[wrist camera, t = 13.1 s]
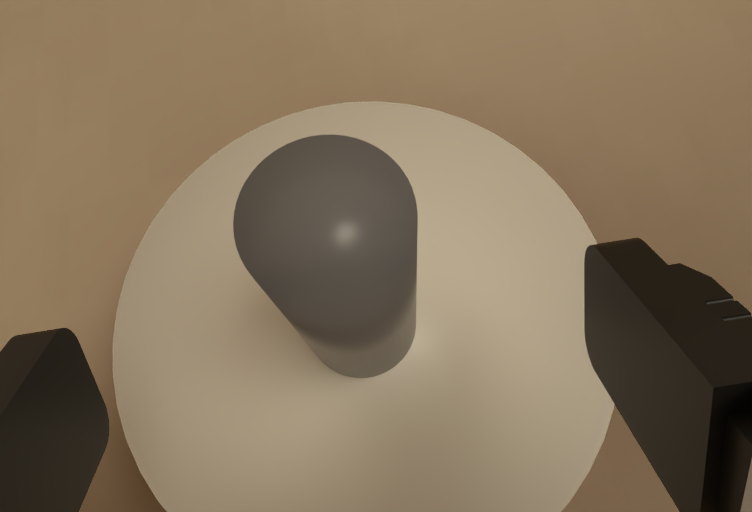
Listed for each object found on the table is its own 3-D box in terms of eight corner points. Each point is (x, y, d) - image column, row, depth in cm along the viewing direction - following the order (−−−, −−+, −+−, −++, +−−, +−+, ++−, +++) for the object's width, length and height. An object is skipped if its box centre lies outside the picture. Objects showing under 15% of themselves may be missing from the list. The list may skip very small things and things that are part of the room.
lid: (272, 61, 23) (183, -199, 14) (675, 224, 20) (879, 31, 11) (37, 445, 19) (-286, 421, 10) (491, 704, 16) (580, 971, 8)
